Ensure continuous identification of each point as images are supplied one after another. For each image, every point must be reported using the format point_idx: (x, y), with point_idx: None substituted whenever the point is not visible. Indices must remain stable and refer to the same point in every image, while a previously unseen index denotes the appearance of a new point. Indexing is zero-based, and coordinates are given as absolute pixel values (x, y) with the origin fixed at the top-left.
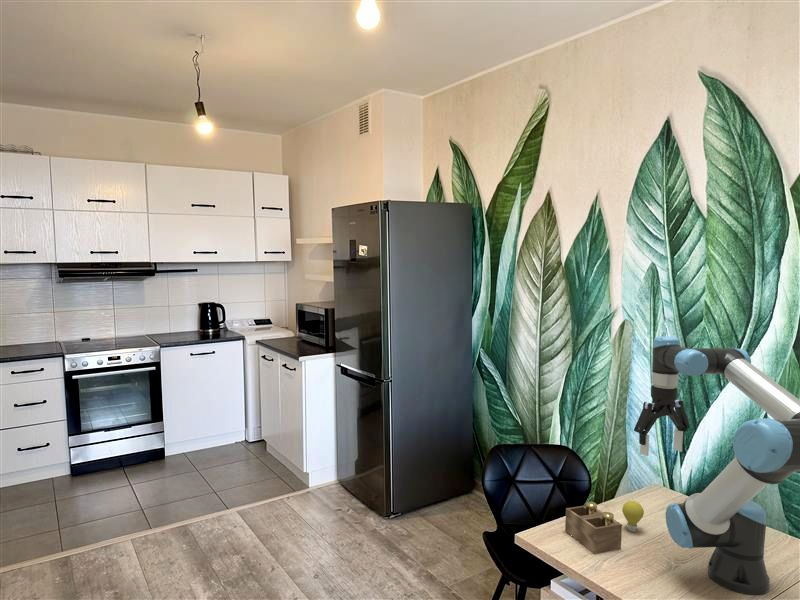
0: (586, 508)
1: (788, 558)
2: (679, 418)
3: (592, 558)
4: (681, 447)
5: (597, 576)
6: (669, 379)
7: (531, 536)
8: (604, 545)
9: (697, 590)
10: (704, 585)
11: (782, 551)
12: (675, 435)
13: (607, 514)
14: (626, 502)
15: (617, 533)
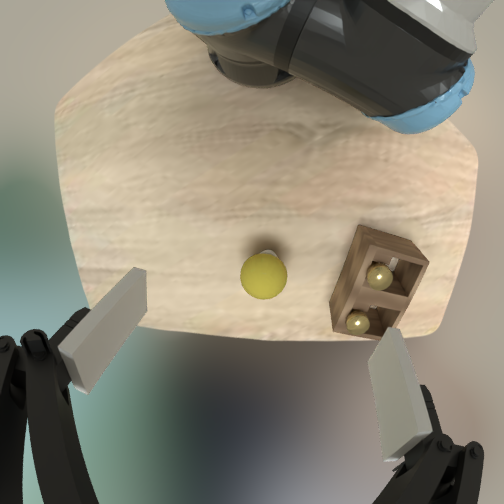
0: None
1: (110, 60)
2: (20, 432)
3: (425, 233)
4: (126, 281)
5: (463, 196)
6: None
7: (428, 325)
8: (397, 240)
9: None
10: None
11: (97, 79)
12: (104, 359)
13: (382, 279)
14: (269, 297)
15: (375, 239)
